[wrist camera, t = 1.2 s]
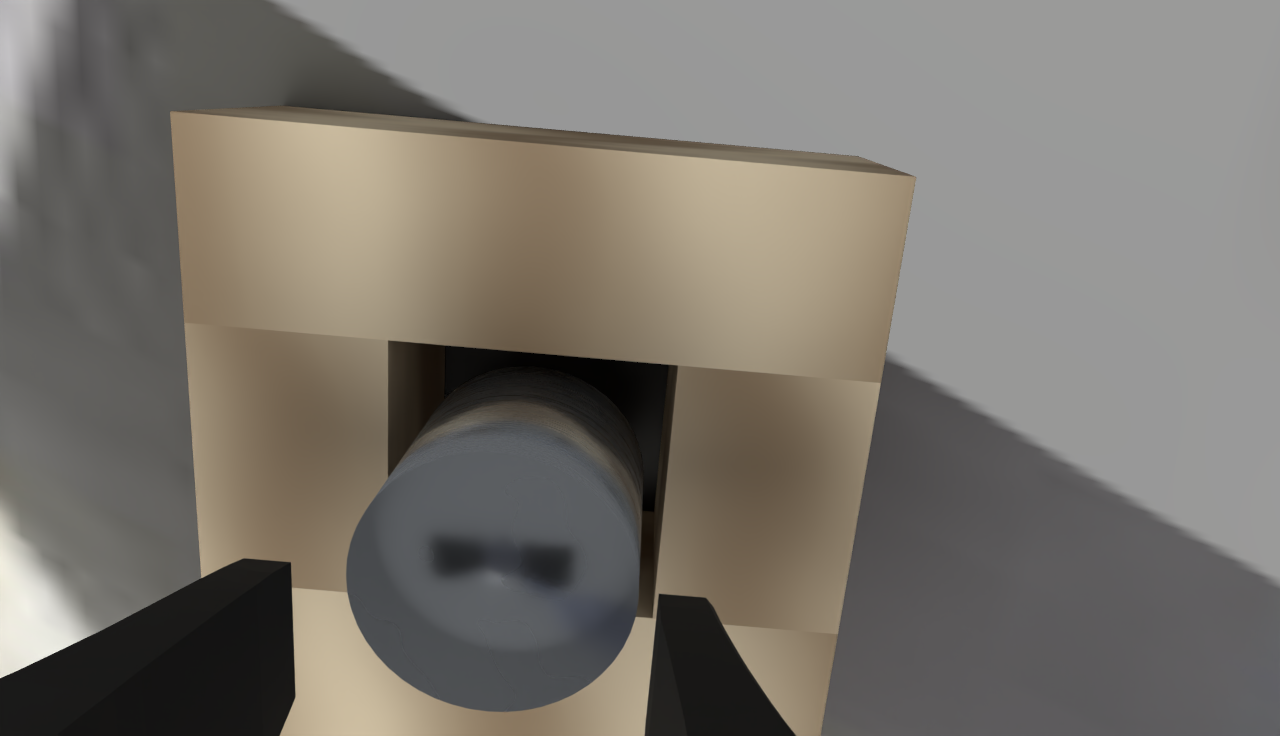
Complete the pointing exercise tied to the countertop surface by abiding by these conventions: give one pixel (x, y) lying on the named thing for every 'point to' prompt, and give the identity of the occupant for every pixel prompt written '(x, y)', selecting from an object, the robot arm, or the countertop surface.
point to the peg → (504, 544)
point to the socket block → (536, 323)
